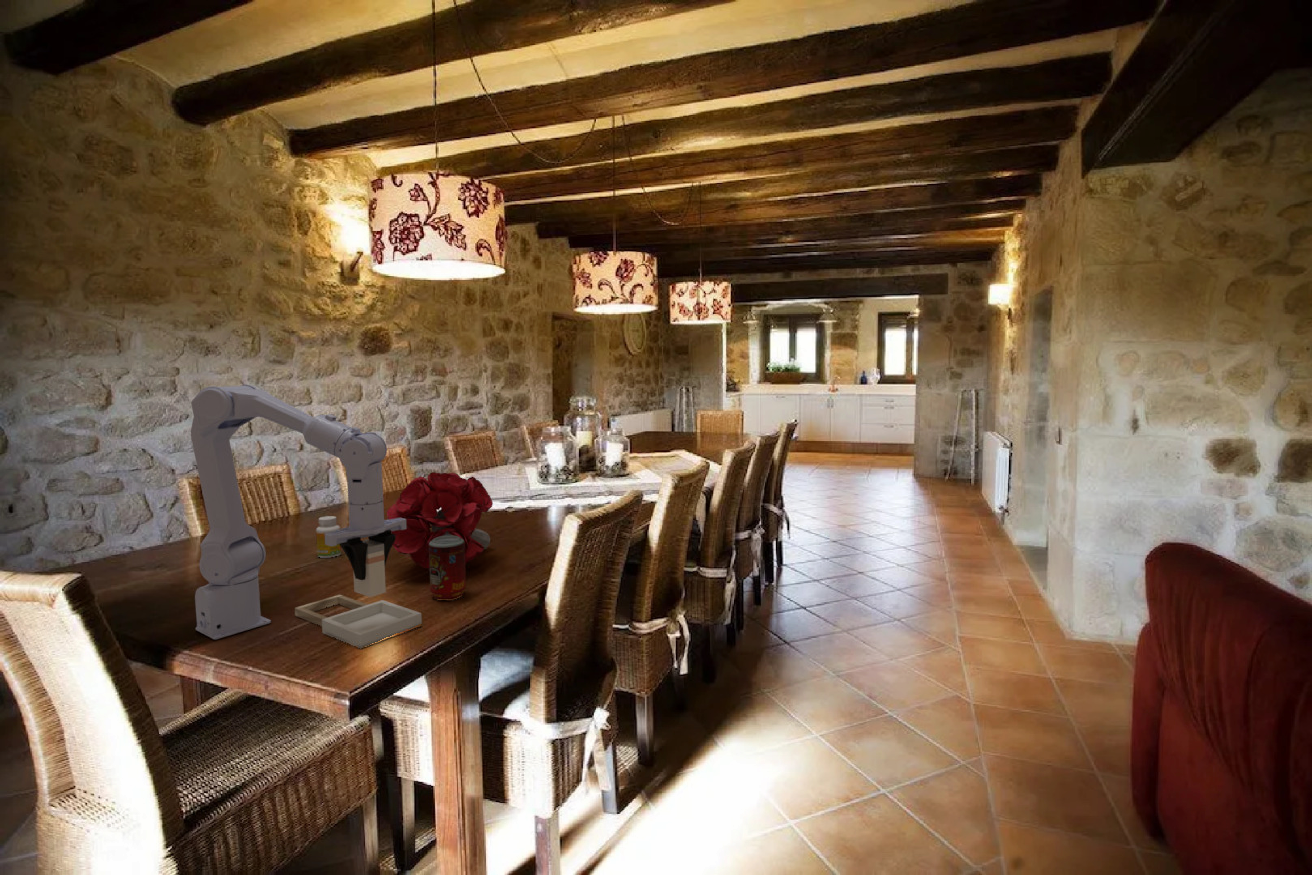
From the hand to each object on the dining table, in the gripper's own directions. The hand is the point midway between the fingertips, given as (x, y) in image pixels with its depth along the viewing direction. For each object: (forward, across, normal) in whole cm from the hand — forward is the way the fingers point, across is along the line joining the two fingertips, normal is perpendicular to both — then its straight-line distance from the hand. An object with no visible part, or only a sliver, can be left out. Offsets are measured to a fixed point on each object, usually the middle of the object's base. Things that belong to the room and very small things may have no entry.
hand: (369, 576), depth 118 cm
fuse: (+3, 0, 0) cm, 3 cm away
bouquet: (+10, +33, +20) cm, 40 cm away
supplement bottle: (+10, +21, +52) cm, 57 cm away
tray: (+10, 0, 0) cm, 10 cm away
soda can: (+10, +19, +3) cm, 22 cm away
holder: (+10, 0, +13) cm, 16 cm away
